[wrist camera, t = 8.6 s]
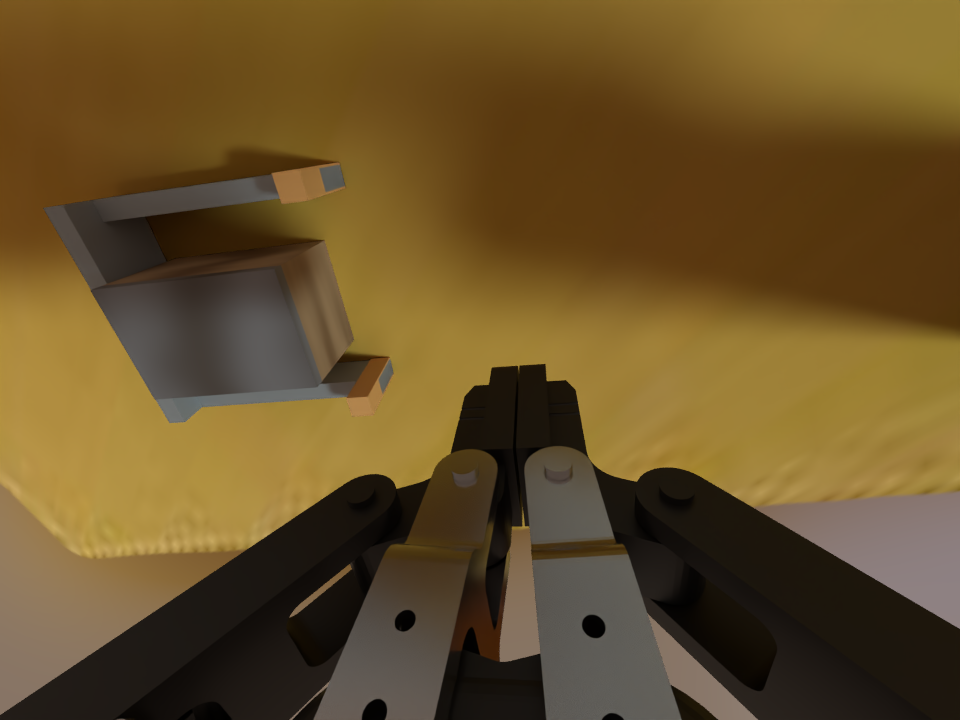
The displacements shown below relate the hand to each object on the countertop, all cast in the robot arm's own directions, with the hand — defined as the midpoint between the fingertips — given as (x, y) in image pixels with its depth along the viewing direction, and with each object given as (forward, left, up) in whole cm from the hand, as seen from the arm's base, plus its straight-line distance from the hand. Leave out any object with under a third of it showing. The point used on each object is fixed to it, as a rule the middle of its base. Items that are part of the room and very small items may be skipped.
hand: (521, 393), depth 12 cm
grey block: (+15, 0, -12) cm, 19 cm away
